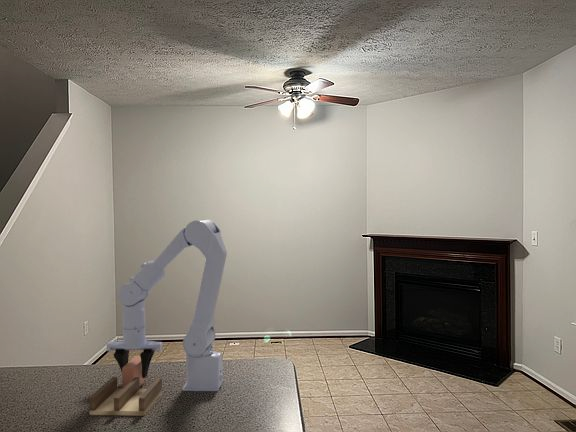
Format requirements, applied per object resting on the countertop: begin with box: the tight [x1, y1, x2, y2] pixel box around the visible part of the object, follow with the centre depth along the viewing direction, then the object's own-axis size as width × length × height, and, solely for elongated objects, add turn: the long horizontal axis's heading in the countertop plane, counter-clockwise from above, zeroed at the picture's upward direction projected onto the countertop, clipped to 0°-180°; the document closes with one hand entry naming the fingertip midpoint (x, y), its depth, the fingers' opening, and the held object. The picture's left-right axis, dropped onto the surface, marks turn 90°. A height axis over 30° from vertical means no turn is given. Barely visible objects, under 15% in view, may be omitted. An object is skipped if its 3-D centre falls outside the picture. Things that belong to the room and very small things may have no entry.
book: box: [121, 355, 146, 389], centre depth 131 cm, size 3×10×6 cm, turn 177°
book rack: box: [88, 376, 163, 417], centre depth 118 cm, size 13×13×4 cm
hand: (135, 376), depth 131 cm, fingers open, 5 cm apart
